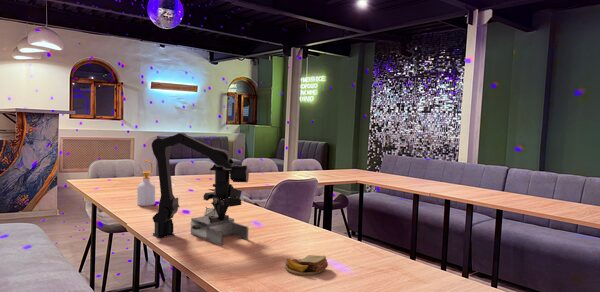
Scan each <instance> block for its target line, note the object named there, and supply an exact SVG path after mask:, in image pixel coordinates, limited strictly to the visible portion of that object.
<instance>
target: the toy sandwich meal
mask: <svg viewBox="0 0 600 292" xmlns="http://www.w3.org/2000/svg"><path fill="white" fill-rule="evenodd" d="M328 263H329V262H328V259H327V257H326V255H314V254H309V255H308V254H307V256H305V257H303V258H301V259H297V258H296V259H295V258H294V259H290V258H288V257H287V258H286V262H285V265H284V266H285V270H287V271H288V272H289V273H291V274H294V275H297V276H313V275H318V274H319V273H321V272H322V271H323V270H325V269H327V268H328V266H329V264H328Z"/></svg>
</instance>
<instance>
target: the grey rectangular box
mask: <svg viewBox="0 0 600 292" xmlns="http://www.w3.org/2000/svg"><path fill="white" fill-rule="evenodd" d="M190 234H191V235H193V236H196V237H198V238H200V239H202V240H205V241H207V242H210V243H213V244H215V245H217V246H220V247H222V246H223V243H224V242H223V241H224V239H223V238H224V237H227V236H235V237H238V238H240V239H243V240H245V241H247V240H249V226H247V225H243V224H241V223H237V222H235V221H234V222H229V223H223V224H218V225H213V226H204V225H201V224H199V223H196V222H193V221H190Z"/></svg>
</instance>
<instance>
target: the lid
mask: <svg viewBox="0 0 600 292" xmlns="http://www.w3.org/2000/svg"><path fill="white" fill-rule="evenodd" d="M191 221H193V222H196V223H199V224H201V225H204V226H213V225H218V224H223V223H229V222H235V218H232V217H230V215H229V214H225V217H224V220H220V219H219V216H218V214H215V215H209V216H204V215H203V216H197V217H192V218H191ZM191 221H190V222H191Z"/></svg>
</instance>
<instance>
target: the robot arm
mask: <svg viewBox="0 0 600 292" xmlns="http://www.w3.org/2000/svg"><path fill="white" fill-rule="evenodd" d="M179 144H181V145H183V146H185V147H187V148H189V149H191V150H193V151H195V152H198V153H199V154H201V155H204V156H206V158H208V159H209V160H210V161H211V162H213V163H214V164H213V165H212V166H211V168H209V171H214V183H213V184H212V187H214V191H210V192H205V193H204V194H203V200H204V201H209V200H212V202H211V203H210V204H211V205H212V207H213V208H215V210H216V212H217V214H218V216H219V219H220V220H224V217H225V215H227V211H228V208H230V207H238V206H242V199H241V195H242V192H243V190H239V189H237V188H234V186H233V184H231V183H230V181H232V183H248V182H249V178H250V177H249V176H250V173H249V167H248V165H247V164H245V165H236V163H235V161H234V160H233V159H232V155H231V152H230V151H228V150H226V149H223V148H218V147H214V146H211V145H209V144H207V143H205V142H202V141H200V140H198V139H196V138H194V137H192V136H190V135H187V133H185V132H179V133H176V134H174V135H171V136H168V137H158V138H155V139H154V140H153V141H152V142H151V150H152V154H153V156H154V157H155V159H156V162H157V169H158V179H159V188H160V189H159V190H160V198H159V202H158V211H157V213H155V214H154V215H153V216H152V218H151V219H152V221H153V222H154V233H152V235H153V236H155V237H157V238H160V239H161V238H165V237H172V236H175V233H174V222H173V218H174V216H175V215H176V213H177V212H178V210H179V208H180V205H179V197H175V196H174V194H173V184H172V174H171V173H172V172H171V164H170V157H171V154H172V148H173V147H176V146H178V145H179Z"/></svg>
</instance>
